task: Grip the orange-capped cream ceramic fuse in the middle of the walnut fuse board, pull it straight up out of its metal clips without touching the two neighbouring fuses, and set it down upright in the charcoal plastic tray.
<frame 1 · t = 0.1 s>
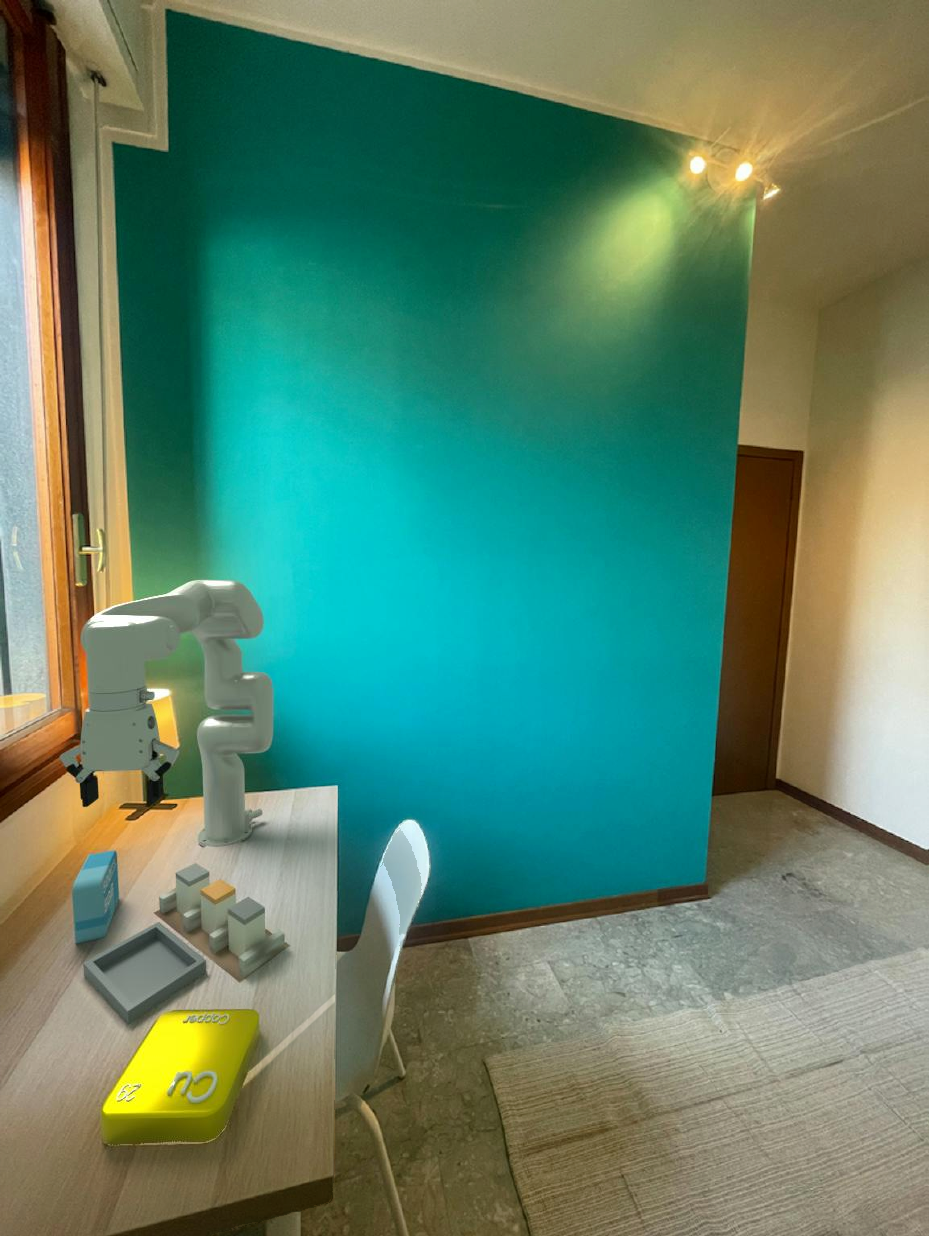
hand: (123, 802, 82), 31 cm above the table, tool pointing down, fingers open, 9 cm apart
element tile: (188, 1086, 69), on the table
fuse board: (219, 932, 96), on the table
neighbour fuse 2: (247, 949, 91), point 1 cm above the table, touching fuse board
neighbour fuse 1: (193, 909, 101), point 1 cm above the table, touching fuse board
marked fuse: (219, 928, 96), point 1 cm above the table, touching fuse board
data package: (98, 924, 98), on the table
tray: (145, 978, 85), on the table
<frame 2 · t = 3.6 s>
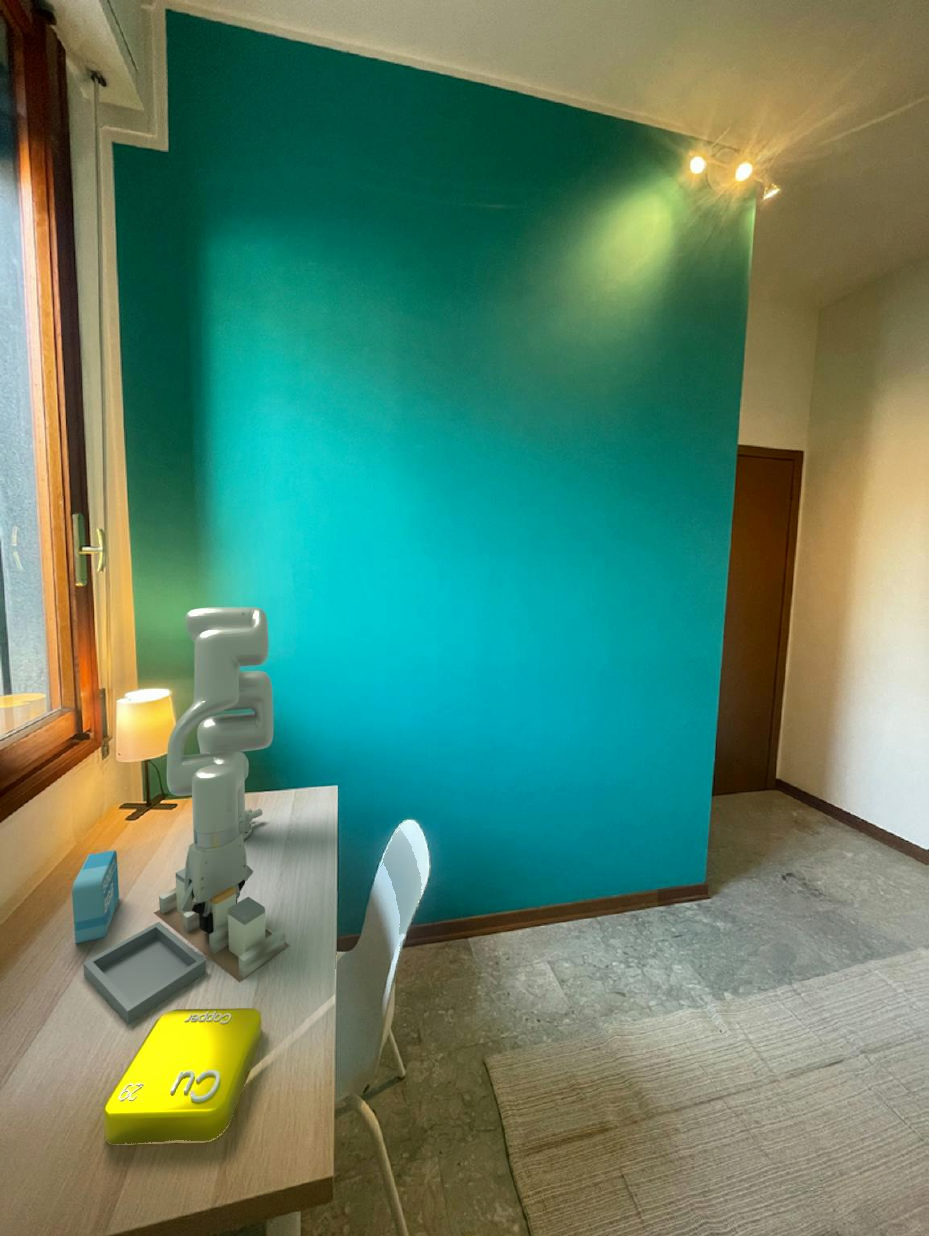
hand: (219, 923, 96), 2 cm above the table, tool pointing down, fingers closed on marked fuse, 3 cm apart
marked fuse: (219, 928, 96), point 1 cm above the table, touching gripper
everything else where it was.
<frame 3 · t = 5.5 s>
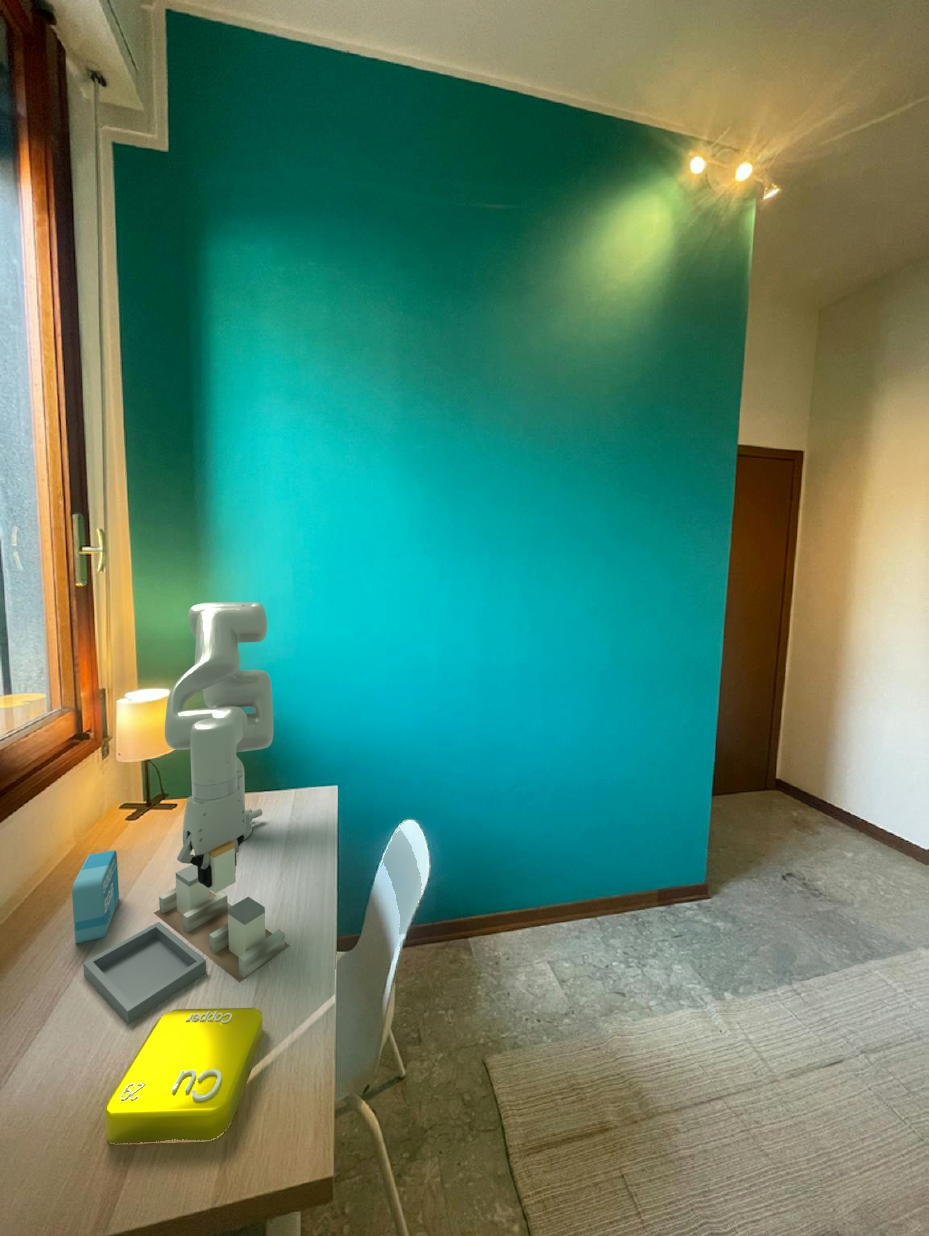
hand: (217, 877, 95), 11 cm above the table, tool pointing down, fingers closed on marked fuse, 4 cm apart
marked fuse: (218, 882, 95), point 10 cm above the table, touching gripper
everything else where it was.
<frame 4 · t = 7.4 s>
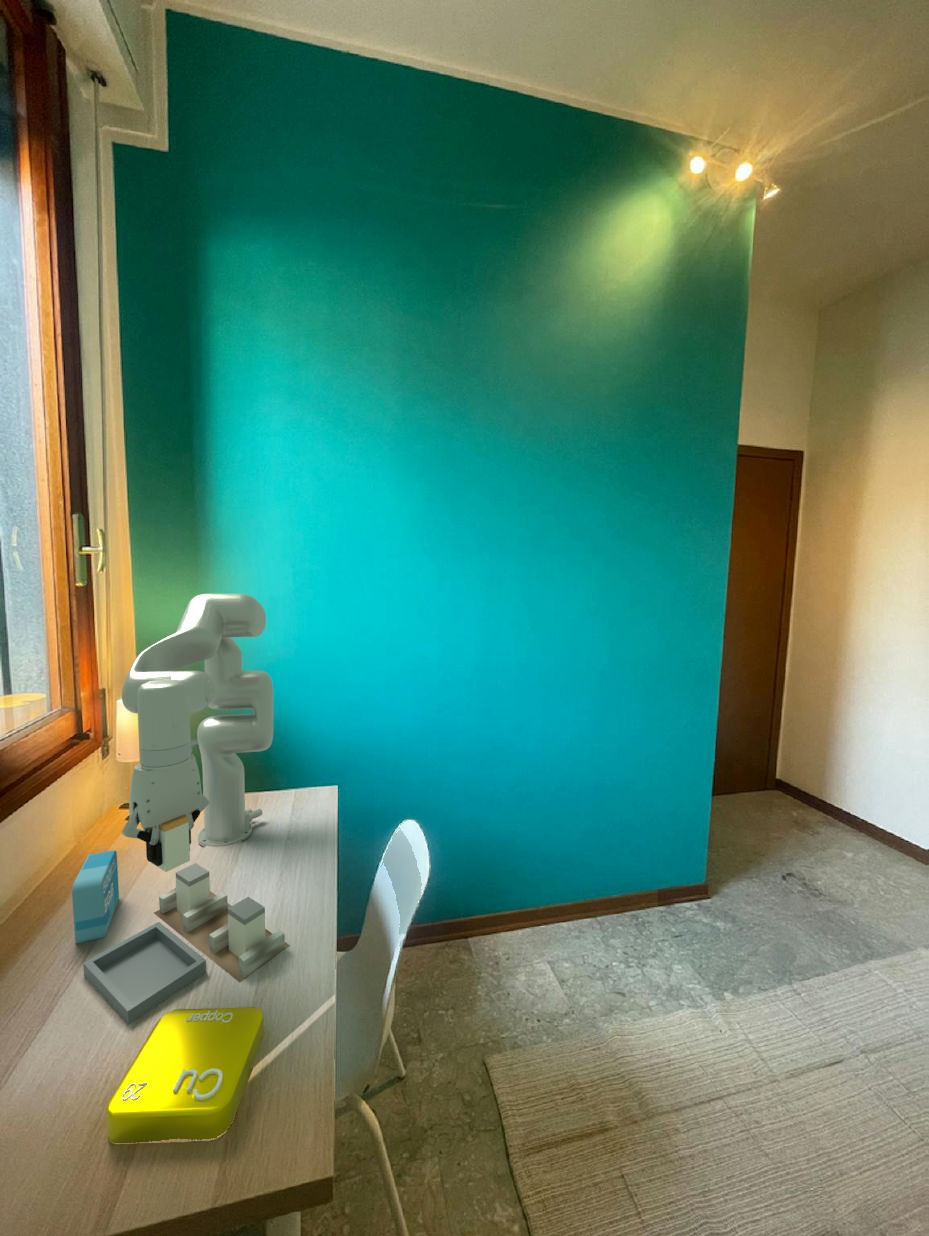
hand: (169, 855, 87), 20 cm above the table, tool pointing down, fingers closed on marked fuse, 4 cm apart
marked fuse: (170, 861, 87), point 19 cm above the table, touching gripper
everything else where it was.
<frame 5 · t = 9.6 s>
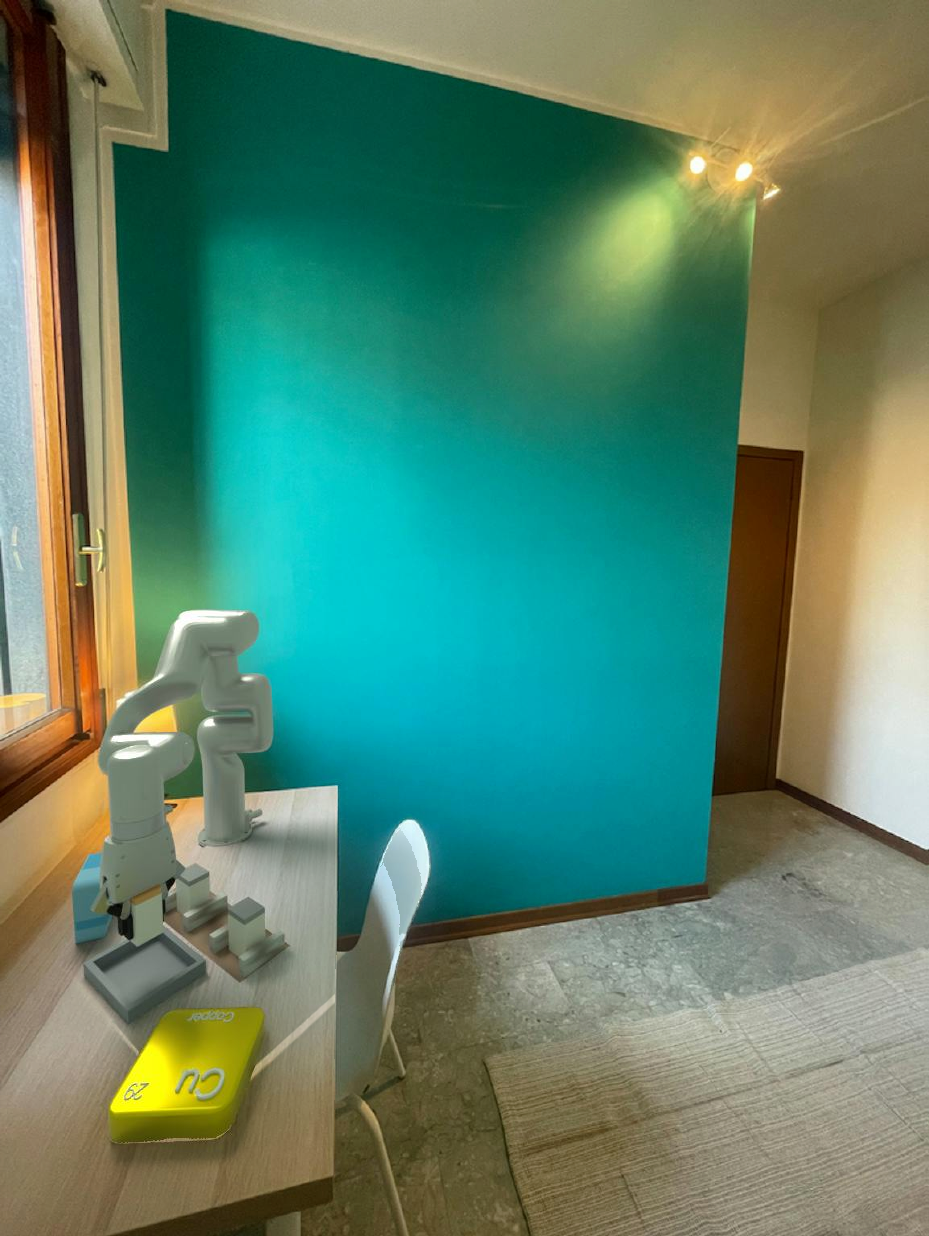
hand: (142, 927, 84), 9 cm above the table, tool pointing down, fingers closed on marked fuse, 4 cm apart
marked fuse: (143, 933, 84), point 8 cm above the table, touching gripper
everything else where it was.
when the fingers open (3 cm above the table, at t = 11.5 s): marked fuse drops 1 cm, resting on tray.
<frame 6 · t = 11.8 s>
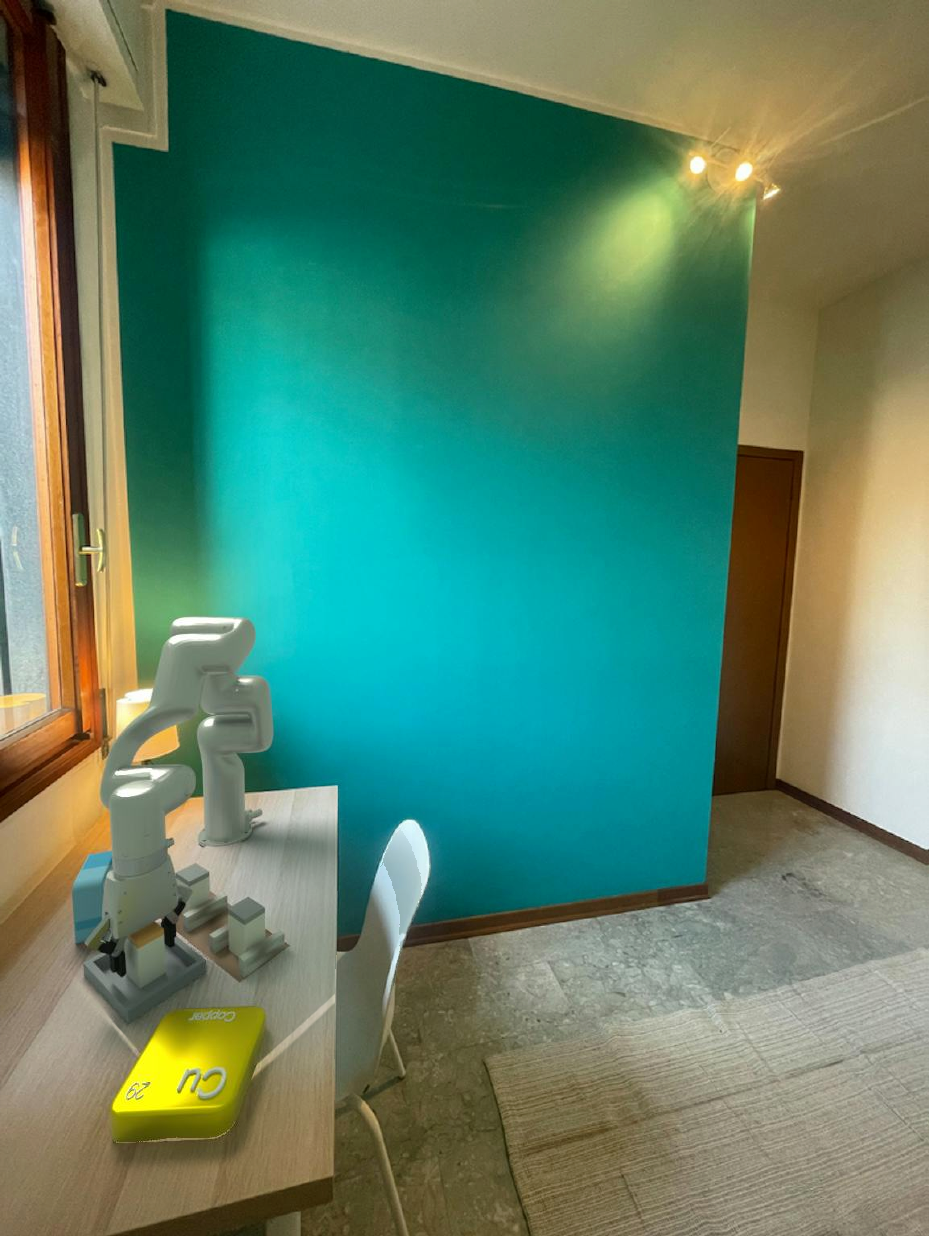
hand: (144, 957, 85), 4 cm above the table, tool pointing down, fingers open, 7 cm apart
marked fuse: (145, 973, 85), point 1 cm above the table, touching tray
everything else where it was.
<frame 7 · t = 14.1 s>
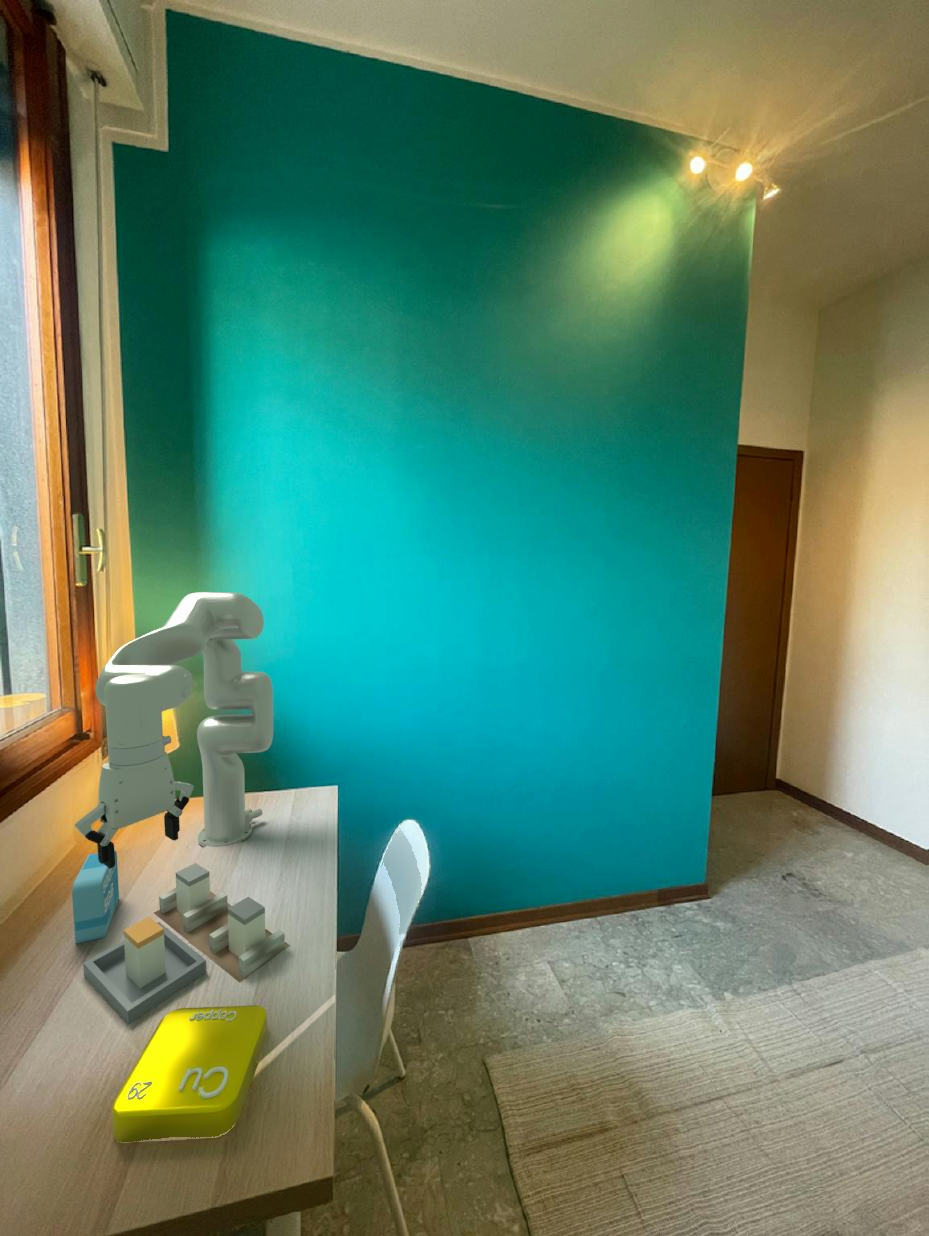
hand: (141, 850, 84), 22 cm above the table, tool pointing down, fingers open, 9 cm apart
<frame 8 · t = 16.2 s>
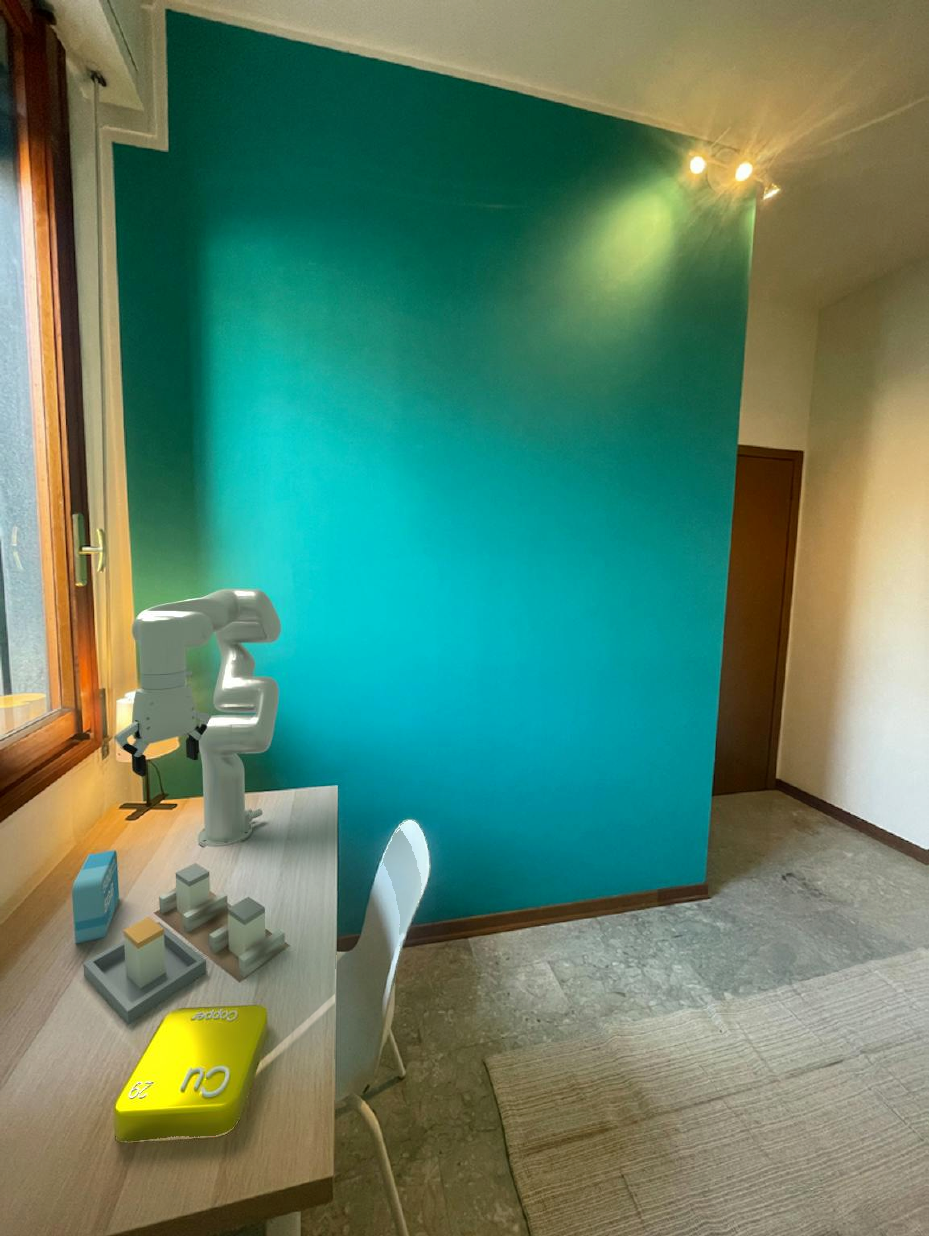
hand: (167, 766, 98), 30 cm above the table, tool pointing down, fingers open, 9 cm apart
at the end: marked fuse inside the target area on the tray (0.0 cm from its centre), point 0.8 cm above the tray's base; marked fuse tilted 0°; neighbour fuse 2 moved 0.0 cm from its start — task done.
